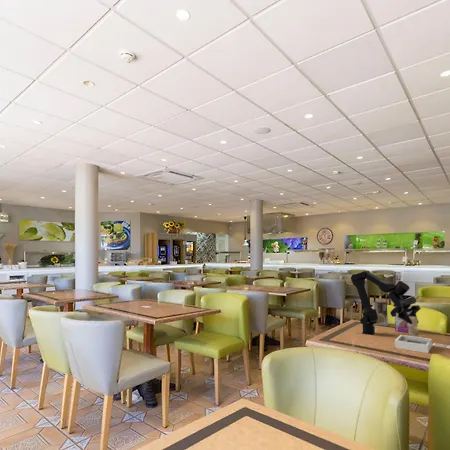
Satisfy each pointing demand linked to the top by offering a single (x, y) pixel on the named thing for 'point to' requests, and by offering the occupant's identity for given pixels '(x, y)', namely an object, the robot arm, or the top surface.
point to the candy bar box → (401, 324)
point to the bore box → (413, 343)
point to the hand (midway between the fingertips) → (414, 323)
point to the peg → (413, 326)
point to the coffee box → (381, 312)
